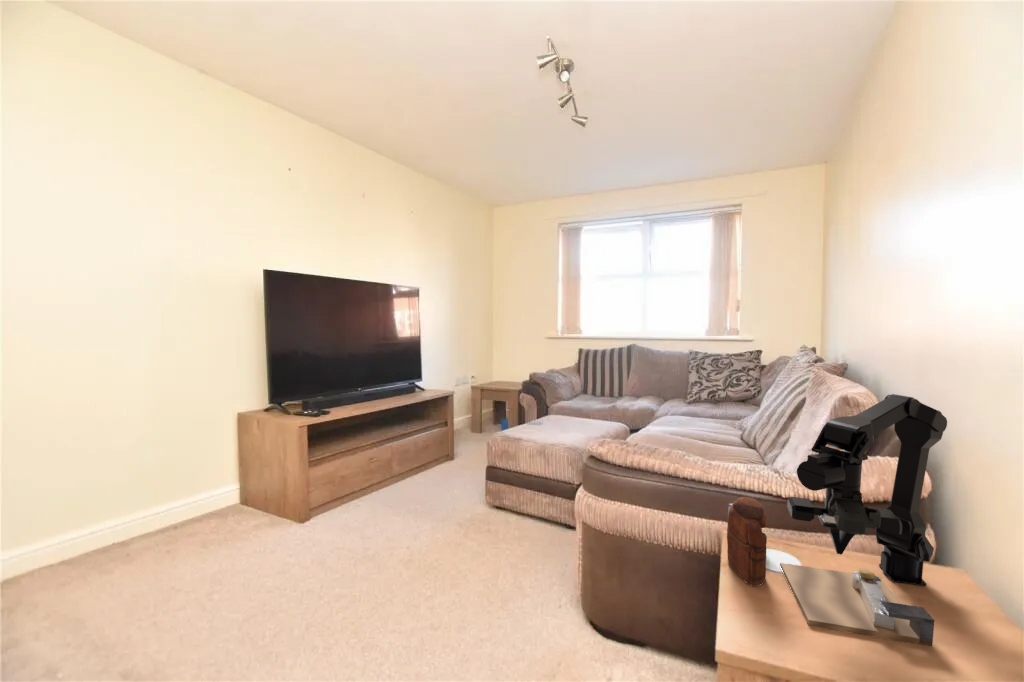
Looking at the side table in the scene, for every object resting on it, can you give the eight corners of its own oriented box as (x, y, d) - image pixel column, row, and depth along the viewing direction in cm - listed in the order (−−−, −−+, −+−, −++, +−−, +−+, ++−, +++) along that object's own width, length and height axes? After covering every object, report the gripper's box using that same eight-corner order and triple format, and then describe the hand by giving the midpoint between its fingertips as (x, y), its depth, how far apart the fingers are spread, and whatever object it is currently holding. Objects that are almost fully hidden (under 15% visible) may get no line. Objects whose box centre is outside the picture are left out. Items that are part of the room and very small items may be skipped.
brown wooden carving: (775, 587, 101) (779, 509, 100) (748, 588, 101) (751, 510, 99) (744, 557, 113) (747, 487, 111) (720, 558, 113) (722, 488, 111)
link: (849, 579, 102) (850, 568, 101) (876, 585, 99) (877, 573, 99) (868, 623, 88) (868, 611, 88) (899, 631, 86) (900, 618, 85)
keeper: (921, 633, 87) (923, 607, 87) (932, 646, 84) (934, 619, 83) (878, 626, 89) (879, 600, 89) (886, 639, 86) (888, 612, 85)
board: (879, 581, 103) (880, 560, 102) (932, 646, 84) (934, 620, 83) (779, 567, 108) (780, 547, 108) (808, 625, 89) (809, 601, 89)
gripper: (799, 490, 90) (795, 565, 91) (917, 505, 83) (911, 585, 85) (788, 470, 100) (785, 537, 102) (893, 482, 93) (887, 554, 95)
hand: (838, 553), depth 95 cm, fingers closed
